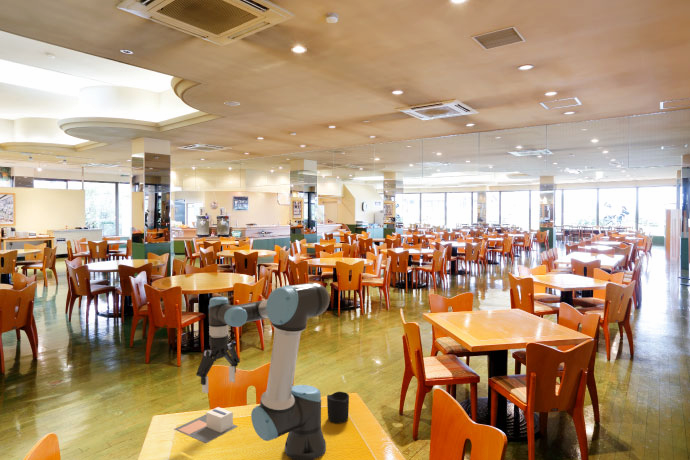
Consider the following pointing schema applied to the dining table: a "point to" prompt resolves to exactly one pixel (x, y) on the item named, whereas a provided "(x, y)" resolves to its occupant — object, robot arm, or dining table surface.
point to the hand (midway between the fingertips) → (219, 386)
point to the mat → (201, 430)
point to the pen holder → (338, 407)
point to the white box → (219, 419)
